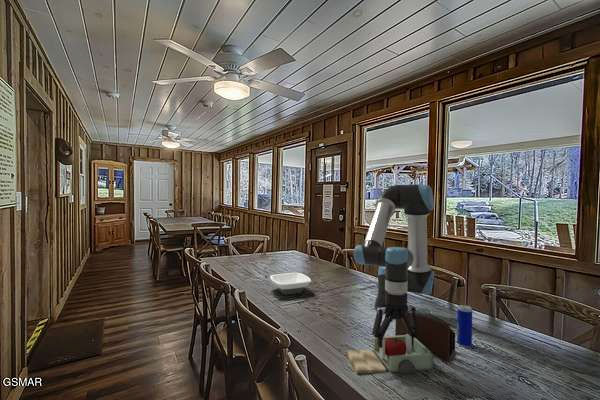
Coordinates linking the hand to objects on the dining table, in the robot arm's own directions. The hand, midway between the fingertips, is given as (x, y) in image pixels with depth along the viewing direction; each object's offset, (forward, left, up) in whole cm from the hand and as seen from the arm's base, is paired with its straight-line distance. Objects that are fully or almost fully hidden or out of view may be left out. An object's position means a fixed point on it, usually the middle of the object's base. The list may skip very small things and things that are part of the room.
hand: (395, 354), depth 106 cm
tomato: (0, 0, -1) cm, 1 cm away
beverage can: (-8, +33, -3) cm, 34 cm away
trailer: (0, +2, -3) cm, 3 cm away
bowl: (-81, -28, -3) cm, 86 cm away
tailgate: (0, -6, -2) cm, 6 cm away
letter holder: (-8, +16, -3) cm, 18 cm away
